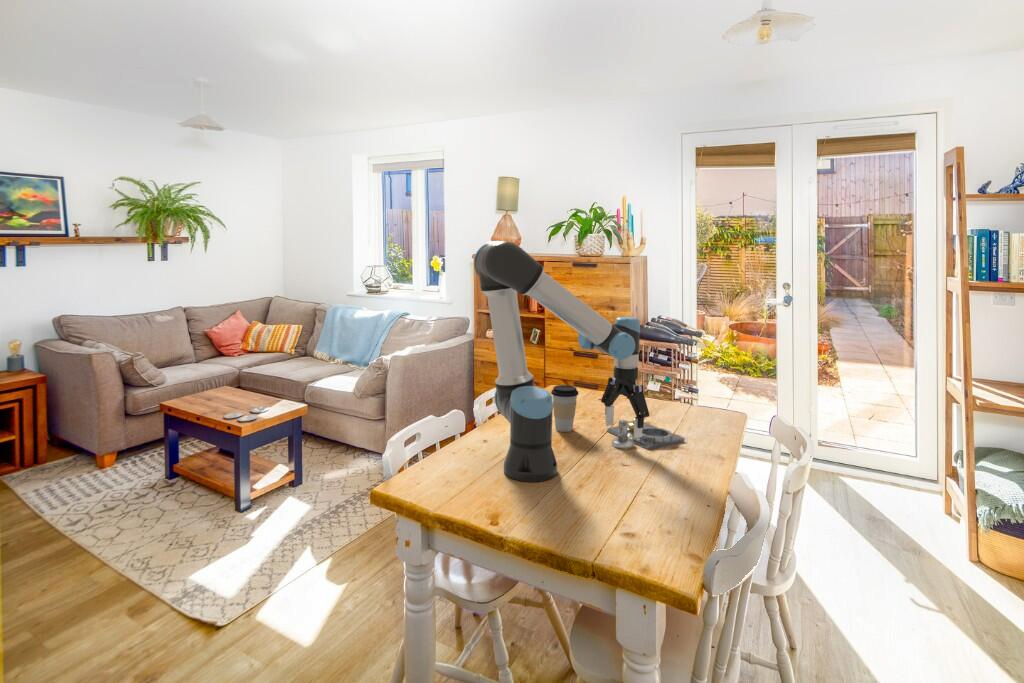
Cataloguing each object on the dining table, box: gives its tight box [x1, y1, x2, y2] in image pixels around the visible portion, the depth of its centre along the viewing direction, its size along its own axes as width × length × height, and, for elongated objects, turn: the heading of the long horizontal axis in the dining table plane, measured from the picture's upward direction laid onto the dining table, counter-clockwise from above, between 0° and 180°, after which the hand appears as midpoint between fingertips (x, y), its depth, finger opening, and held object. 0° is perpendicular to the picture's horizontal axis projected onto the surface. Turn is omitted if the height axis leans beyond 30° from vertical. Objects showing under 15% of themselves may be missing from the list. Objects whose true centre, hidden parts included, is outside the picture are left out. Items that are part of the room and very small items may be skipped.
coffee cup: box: [550, 384, 579, 433], centre depth 196 cm, size 9×9×15 cm
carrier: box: [607, 417, 685, 450], centre depth 191 cm, size 16×20×5 cm
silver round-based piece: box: [610, 419, 635, 450], centre depth 182 cm, size 7×7×8 cm
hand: (623, 431), depth 182 cm, fingers open, 13 cm apart
